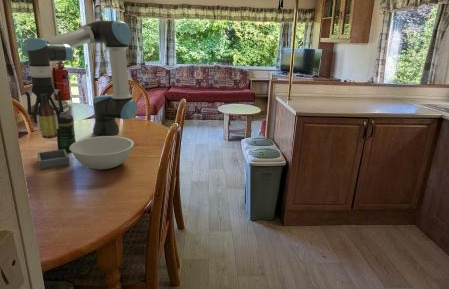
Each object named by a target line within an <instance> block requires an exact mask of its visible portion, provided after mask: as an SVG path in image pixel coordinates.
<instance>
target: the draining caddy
mask: <svg viewBox="0 0 449 289" xmlns="http://www.w3.org/2000/svg"><path fill="white" fill-rule="evenodd" d="M37 159H38V164H39V168H40V169H39V170H40V171H44V170H49V169H57V168H64V167H68V166H69V167H70V158H69V155H68V152H66V151H65V149H62V150H58V149H55V150H48V151H41V152H37Z"/></svg>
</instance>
